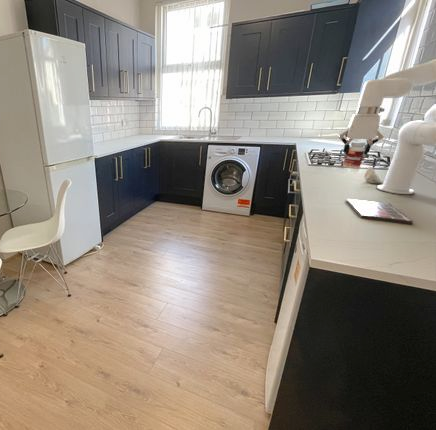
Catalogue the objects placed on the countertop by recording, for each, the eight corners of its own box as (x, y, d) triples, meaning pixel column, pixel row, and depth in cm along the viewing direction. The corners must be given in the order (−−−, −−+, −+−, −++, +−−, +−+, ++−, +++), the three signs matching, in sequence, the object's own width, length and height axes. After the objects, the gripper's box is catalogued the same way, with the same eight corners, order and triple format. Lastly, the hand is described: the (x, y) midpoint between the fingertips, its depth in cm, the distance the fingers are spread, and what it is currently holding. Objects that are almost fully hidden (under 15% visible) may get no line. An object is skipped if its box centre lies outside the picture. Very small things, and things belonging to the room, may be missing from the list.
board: (346, 201, 119) (347, 198, 118) (388, 206, 113) (389, 203, 113) (360, 217, 102) (362, 214, 101) (411, 224, 96) (413, 221, 96)
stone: (388, 186, 143) (389, 172, 137) (372, 192, 145) (373, 178, 140) (374, 175, 151) (374, 161, 145) (359, 180, 153) (359, 167, 148)
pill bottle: (341, 167, 127) (348, 142, 123) (342, 164, 132) (349, 141, 127) (359, 169, 123) (367, 143, 119) (360, 166, 128) (367, 141, 124)
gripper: (390, 110, 118) (376, 153, 125) (340, 111, 125) (329, 151, 132) (398, 111, 112) (382, 156, 119) (344, 111, 119) (333, 154, 126)
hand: (355, 153), depth 125 cm, fingers closed on pill bottle, 6 cm apart
